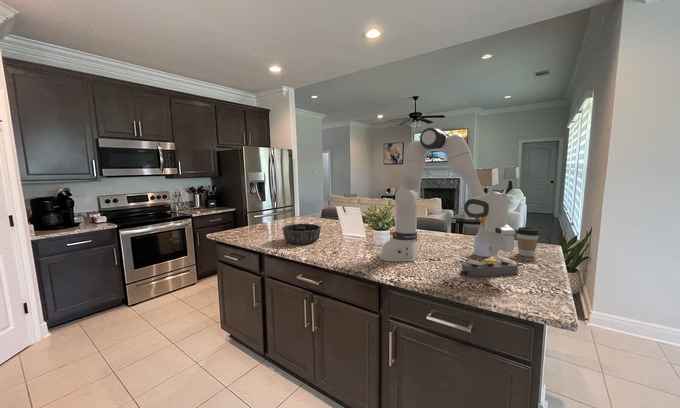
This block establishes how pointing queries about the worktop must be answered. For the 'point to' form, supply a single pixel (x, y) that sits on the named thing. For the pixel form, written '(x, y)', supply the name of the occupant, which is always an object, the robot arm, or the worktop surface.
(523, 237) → the coffee cup
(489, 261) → the block
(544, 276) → the worktop surface
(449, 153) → the robot arm
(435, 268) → the worktop surface
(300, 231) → the bundt pan
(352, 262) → the worktop surface
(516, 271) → the power strip
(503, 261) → the plate
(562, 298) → the worktop surface
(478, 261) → the block
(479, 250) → the soap bottle
